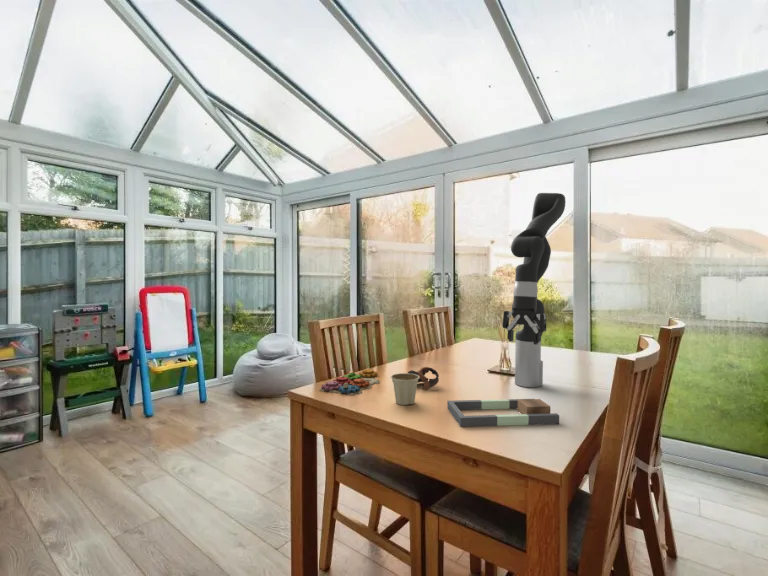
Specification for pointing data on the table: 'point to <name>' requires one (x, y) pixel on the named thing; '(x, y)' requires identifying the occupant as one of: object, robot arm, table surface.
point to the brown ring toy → (423, 379)
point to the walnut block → (533, 406)
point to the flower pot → (405, 387)
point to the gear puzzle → (351, 383)
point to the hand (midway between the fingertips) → (523, 342)
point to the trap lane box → (495, 419)
